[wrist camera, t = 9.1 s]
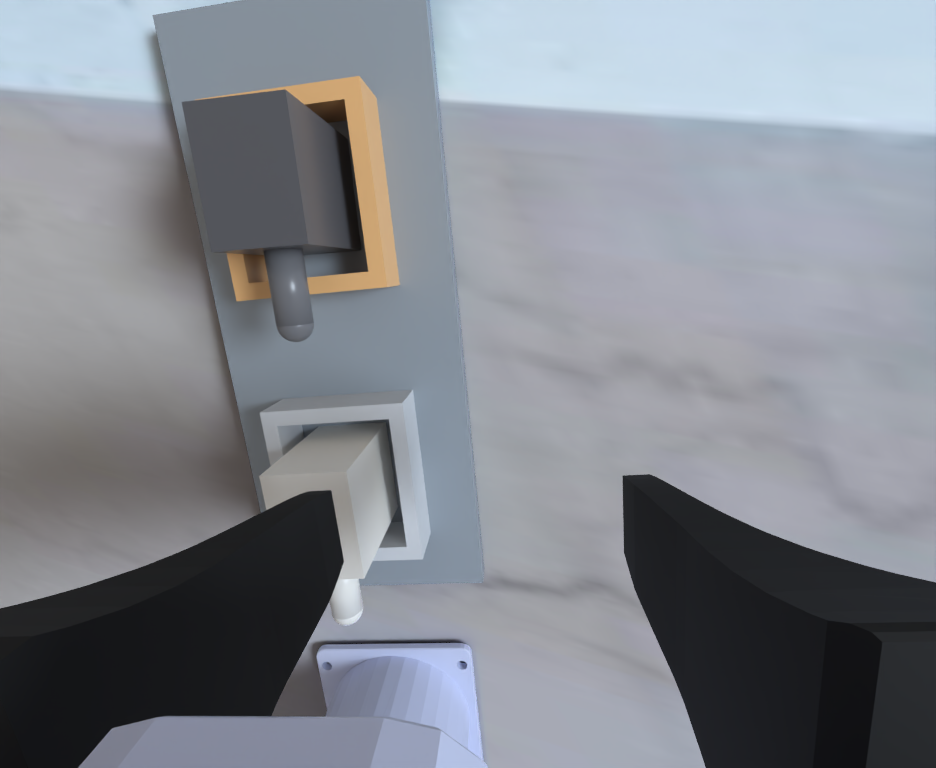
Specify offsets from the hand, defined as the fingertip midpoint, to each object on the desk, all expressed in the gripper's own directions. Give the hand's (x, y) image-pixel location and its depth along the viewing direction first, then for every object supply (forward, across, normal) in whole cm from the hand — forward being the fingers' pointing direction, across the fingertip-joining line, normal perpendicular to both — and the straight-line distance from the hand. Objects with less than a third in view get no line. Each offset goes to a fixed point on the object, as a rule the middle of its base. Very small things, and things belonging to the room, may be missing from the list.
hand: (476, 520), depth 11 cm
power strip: (+9, +6, -4) cm, 12 cm away
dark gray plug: (+8, +6, -8) cm, 13 cm away
